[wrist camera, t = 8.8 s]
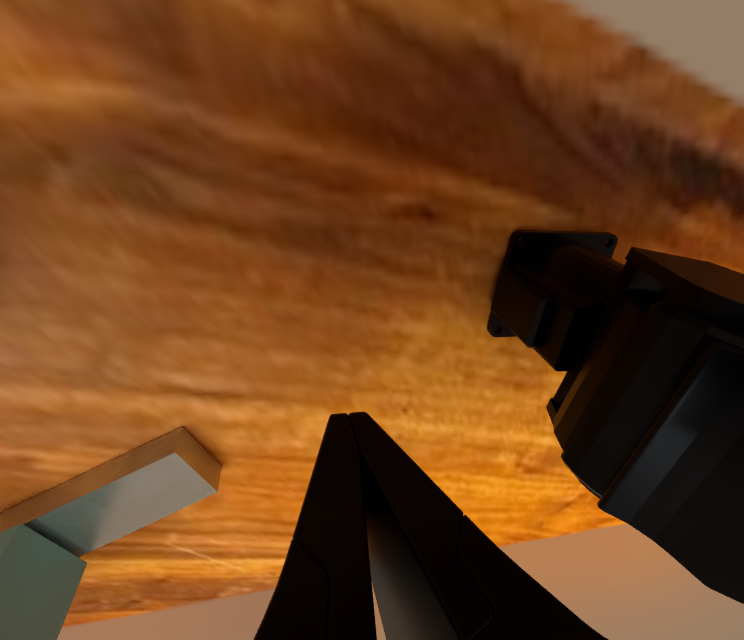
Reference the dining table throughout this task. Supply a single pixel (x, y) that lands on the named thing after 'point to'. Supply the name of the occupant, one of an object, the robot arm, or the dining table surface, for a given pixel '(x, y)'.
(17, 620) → the tall teal pillar
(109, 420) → the dining table surface
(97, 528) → the rail
